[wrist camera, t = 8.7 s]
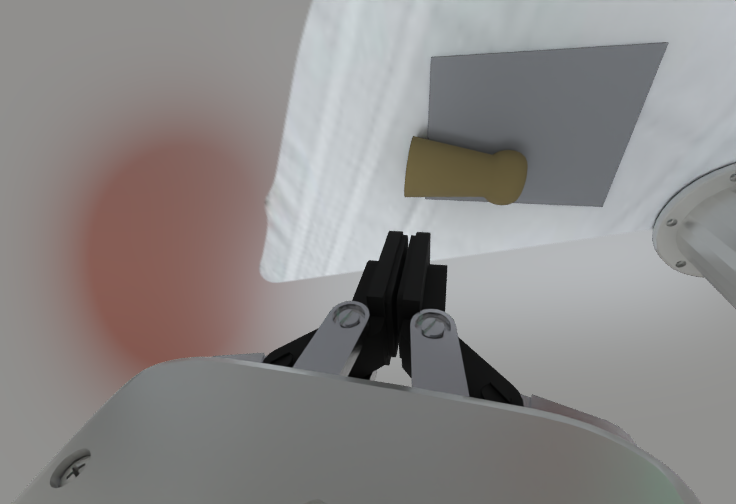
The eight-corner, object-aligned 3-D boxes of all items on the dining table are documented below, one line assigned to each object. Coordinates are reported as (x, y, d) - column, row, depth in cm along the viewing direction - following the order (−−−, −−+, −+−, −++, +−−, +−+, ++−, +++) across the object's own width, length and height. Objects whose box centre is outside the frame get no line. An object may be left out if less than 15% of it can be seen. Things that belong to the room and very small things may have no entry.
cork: (411, 177, 36) (511, 189, 34) (402, 208, 32) (515, 224, 30) (416, 125, 32) (530, 135, 30) (407, 153, 27) (539, 167, 25)
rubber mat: (665, 42, 24) (668, 42, 24) (600, 205, 32) (602, 206, 32) (431, 57, 28) (431, 57, 28) (425, 197, 36) (425, 199, 36)
